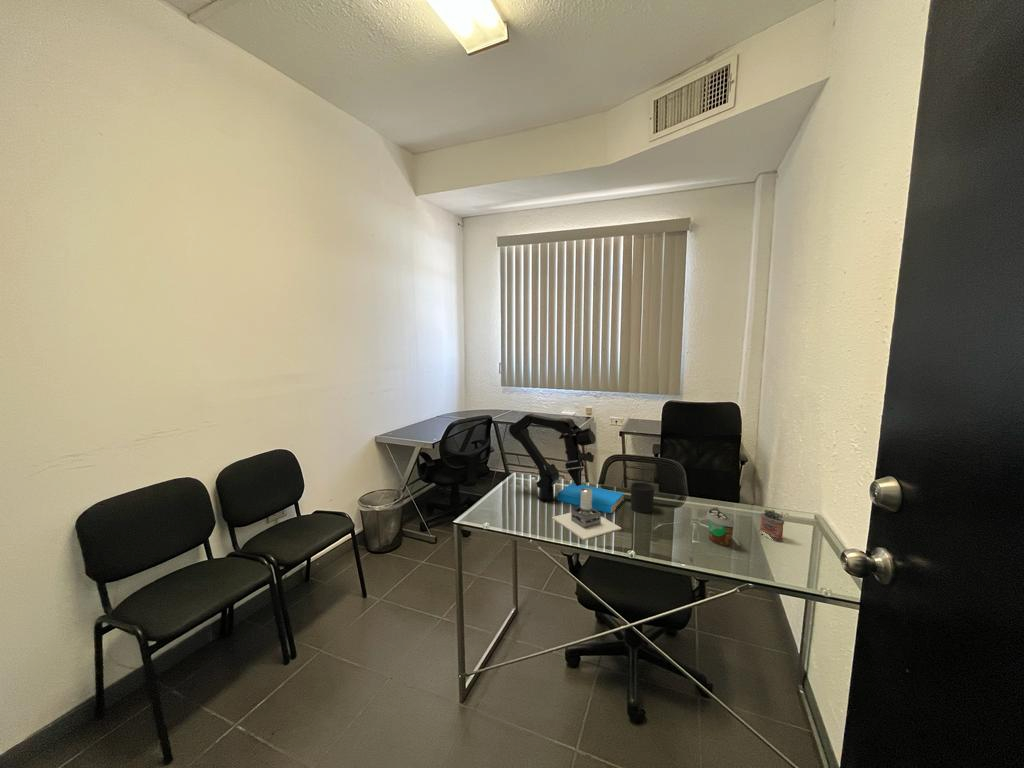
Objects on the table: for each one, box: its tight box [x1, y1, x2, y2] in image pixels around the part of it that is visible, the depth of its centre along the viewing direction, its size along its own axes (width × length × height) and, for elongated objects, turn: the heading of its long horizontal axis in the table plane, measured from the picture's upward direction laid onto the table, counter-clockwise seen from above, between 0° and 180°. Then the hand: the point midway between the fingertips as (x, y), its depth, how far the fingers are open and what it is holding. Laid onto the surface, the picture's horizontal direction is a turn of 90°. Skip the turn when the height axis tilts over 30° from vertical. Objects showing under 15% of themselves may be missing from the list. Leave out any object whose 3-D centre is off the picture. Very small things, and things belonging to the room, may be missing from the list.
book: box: [556, 482, 625, 515], centre depth 179 cm, size 17×4×25 cm
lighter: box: [759, 508, 785, 543], centre depth 145 cm, size 8×3×10 cm, turn 23°
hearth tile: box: [551, 512, 622, 541], centre depth 156 cm, size 20×18×1 cm
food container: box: [705, 506, 735, 548], centre depth 143 cm, size 12×6×10 cm, turn 178°
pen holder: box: [630, 482, 655, 514], centre depth 170 cm, size 9×9×10 cm
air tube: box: [579, 488, 592, 522], centre depth 155 cm, size 5×5×13 cm
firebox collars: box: [570, 506, 602, 529], centre depth 156 cm, size 8×8×5 cm
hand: (579, 485), depth 167 cm, fingers open, 9 cm apart
